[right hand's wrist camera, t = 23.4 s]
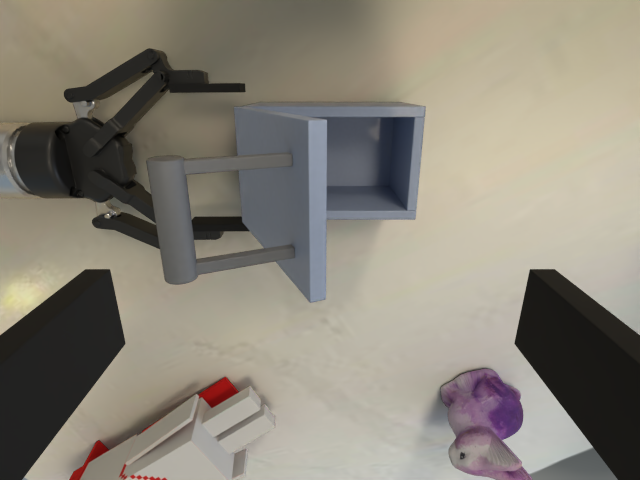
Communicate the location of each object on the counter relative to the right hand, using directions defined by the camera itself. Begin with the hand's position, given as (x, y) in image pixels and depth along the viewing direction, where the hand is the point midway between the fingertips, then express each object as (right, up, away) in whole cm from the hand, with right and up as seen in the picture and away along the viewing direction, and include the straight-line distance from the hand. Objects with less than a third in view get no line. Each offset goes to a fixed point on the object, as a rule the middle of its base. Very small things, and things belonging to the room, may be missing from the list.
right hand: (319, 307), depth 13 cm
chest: (+1, +13, +33) cm, 36 cm away
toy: (-21, -26, +48) cm, 59 cm away
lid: (-3, +6, +16) cm, 17 cm away
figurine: (+22, -20, +46) cm, 55 cm away
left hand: (-7, +10, +27) cm, 30 cm away
